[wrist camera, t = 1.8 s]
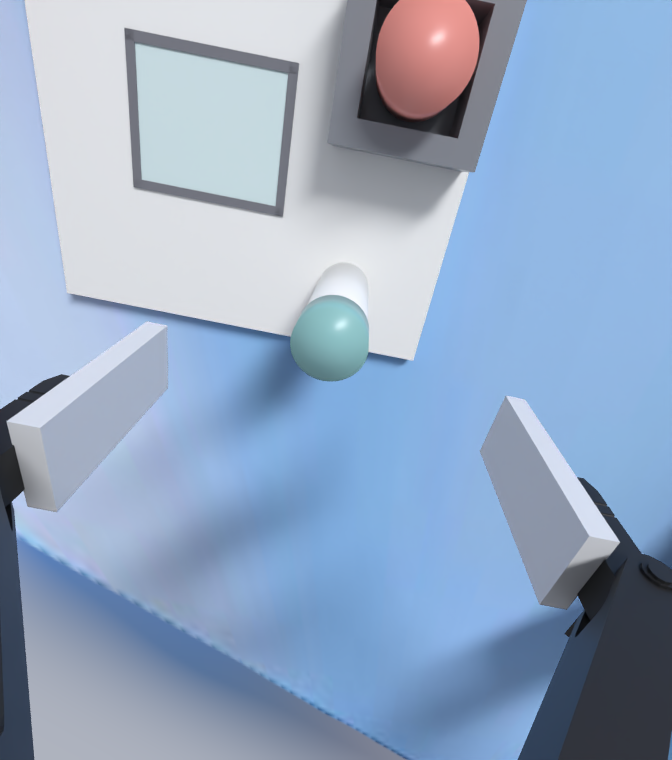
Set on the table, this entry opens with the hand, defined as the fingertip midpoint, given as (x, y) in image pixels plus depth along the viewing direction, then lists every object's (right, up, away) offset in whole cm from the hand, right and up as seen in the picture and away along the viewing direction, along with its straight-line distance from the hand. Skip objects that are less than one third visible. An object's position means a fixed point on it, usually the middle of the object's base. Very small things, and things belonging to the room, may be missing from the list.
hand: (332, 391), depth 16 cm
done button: (+5, +19, +8) cm, 21 cm away
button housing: (+5, +19, +10) cm, 22 cm away
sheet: (-6, +16, +14) cm, 22 cm away
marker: (+1, +8, +16) cm, 18 cm away
